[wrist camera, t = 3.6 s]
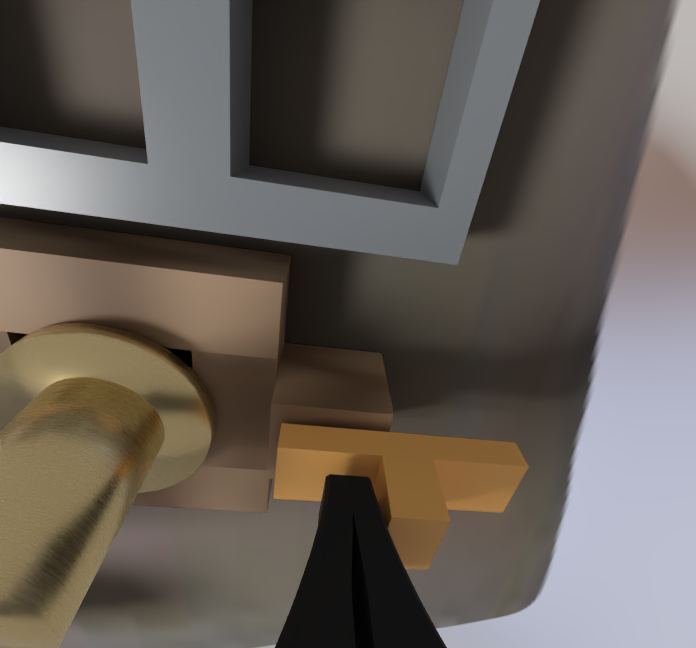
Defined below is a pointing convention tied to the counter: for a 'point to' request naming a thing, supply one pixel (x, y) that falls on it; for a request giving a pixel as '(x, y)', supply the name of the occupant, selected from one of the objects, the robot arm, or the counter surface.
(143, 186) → the rack
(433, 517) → the latch bar
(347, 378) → the socket block
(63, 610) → the brass peg
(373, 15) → the counter surface
